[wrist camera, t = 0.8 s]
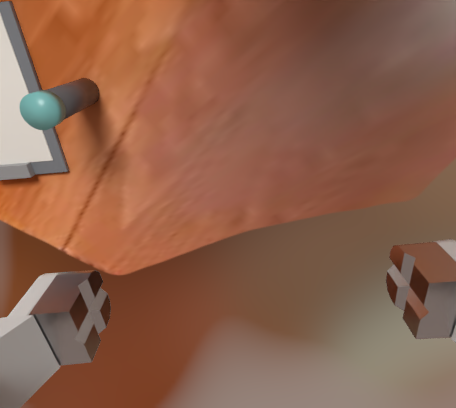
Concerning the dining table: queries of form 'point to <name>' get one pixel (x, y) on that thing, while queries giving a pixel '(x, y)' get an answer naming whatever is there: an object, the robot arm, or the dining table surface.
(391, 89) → the dining table surface
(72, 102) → the marker
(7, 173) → the clipboard
